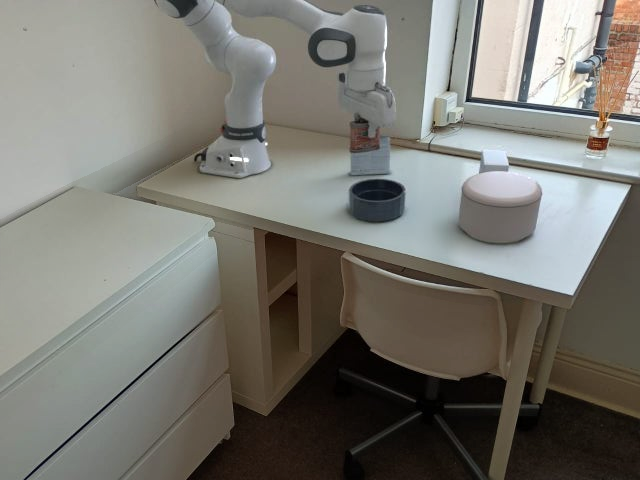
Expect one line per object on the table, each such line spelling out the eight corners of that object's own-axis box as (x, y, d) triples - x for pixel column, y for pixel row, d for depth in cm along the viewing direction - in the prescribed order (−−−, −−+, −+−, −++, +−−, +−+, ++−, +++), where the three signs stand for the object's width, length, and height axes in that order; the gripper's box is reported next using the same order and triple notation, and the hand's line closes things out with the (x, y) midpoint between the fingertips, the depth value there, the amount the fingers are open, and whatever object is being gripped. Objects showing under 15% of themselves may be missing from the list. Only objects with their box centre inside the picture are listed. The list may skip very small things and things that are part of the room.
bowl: (344, 220, 175) (344, 199, 171) (354, 197, 186) (354, 177, 182) (400, 225, 170) (401, 203, 167) (407, 200, 181) (408, 180, 178)
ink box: (389, 171, 199) (390, 133, 192) (389, 174, 197) (391, 136, 190) (349, 172, 200) (350, 135, 194) (350, 175, 198) (350, 138, 192)
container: (462, 209, 175) (467, 166, 168) (536, 216, 168) (544, 172, 162) (452, 241, 161) (457, 197, 155) (533, 250, 155) (541, 204, 148)
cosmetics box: (504, 202, 176) (509, 164, 170) (478, 201, 177) (483, 164, 171) (501, 185, 184) (506, 149, 178) (476, 185, 186) (480, 149, 180)
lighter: (352, 154, 168) (352, 115, 163) (347, 149, 171) (347, 111, 166) (382, 149, 170) (383, 110, 164) (377, 145, 172) (378, 106, 167)
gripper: (404, 85, 153) (400, 143, 161) (354, 67, 169) (354, 120, 177) (380, 91, 151) (378, 149, 159) (333, 72, 167) (333, 126, 175)
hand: (365, 134), depth 168 cm, fingers closed on lighter, 3 cm apart
